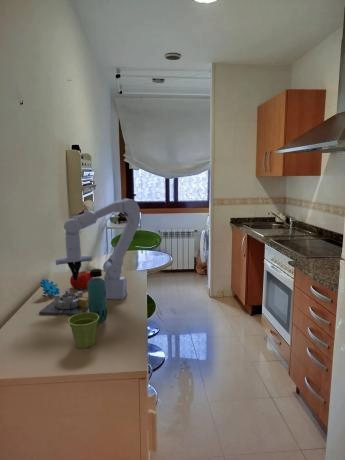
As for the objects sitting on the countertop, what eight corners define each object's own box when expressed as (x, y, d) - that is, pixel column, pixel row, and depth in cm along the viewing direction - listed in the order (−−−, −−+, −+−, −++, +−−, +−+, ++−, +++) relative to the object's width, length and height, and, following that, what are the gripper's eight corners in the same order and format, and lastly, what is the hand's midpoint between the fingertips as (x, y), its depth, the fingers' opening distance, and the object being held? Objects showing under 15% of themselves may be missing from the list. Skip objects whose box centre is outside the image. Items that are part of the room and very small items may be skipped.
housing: (78, 304, 138) (77, 292, 138) (73, 309, 133) (72, 297, 132) (65, 304, 139) (65, 292, 138) (59, 309, 134) (58, 296, 133)
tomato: (98, 285, 162) (97, 271, 161) (81, 292, 153) (80, 276, 152) (83, 282, 168) (82, 268, 167) (65, 288, 159) (64, 273, 158)
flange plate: (96, 299, 143) (96, 297, 143) (81, 315, 127) (80, 313, 126) (59, 298, 145) (59, 296, 145) (39, 314, 129) (39, 311, 129)
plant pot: (93, 352, 99) (92, 325, 98) (64, 350, 101) (62, 323, 100) (104, 338, 109) (103, 313, 107) (77, 336, 110) (76, 311, 109)
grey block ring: (67, 297, 143) (66, 288, 142) (95, 301, 137) (95, 291, 137) (49, 306, 133) (48, 296, 132) (78, 311, 127) (77, 301, 127)
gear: (52, 296, 143) (37, 279, 145) (43, 305, 144) (29, 288, 146) (65, 291, 154) (52, 275, 156) (57, 300, 155) (44, 284, 156)
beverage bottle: (91, 329, 115) (88, 273, 112) (87, 322, 121) (84, 269, 118) (110, 325, 118) (107, 270, 115) (104, 318, 124) (102, 266, 121)
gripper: (55, 251, 132) (58, 284, 134) (92, 247, 137) (94, 279, 139) (54, 248, 138) (56, 279, 140) (89, 244, 143) (91, 275, 146)
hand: (75, 279), depth 140 cm, fingers closed
